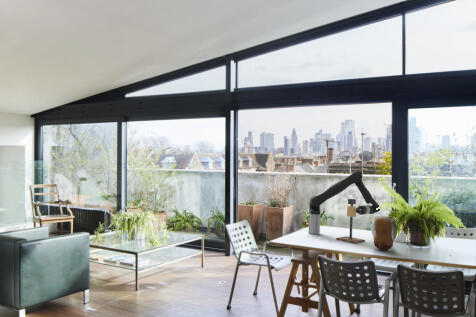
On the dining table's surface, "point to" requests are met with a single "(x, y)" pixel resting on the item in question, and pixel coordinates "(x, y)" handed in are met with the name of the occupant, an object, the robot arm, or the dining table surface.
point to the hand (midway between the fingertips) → (352, 211)
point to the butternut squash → (383, 233)
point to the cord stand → (350, 238)
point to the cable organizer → (401, 237)
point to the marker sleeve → (351, 211)
